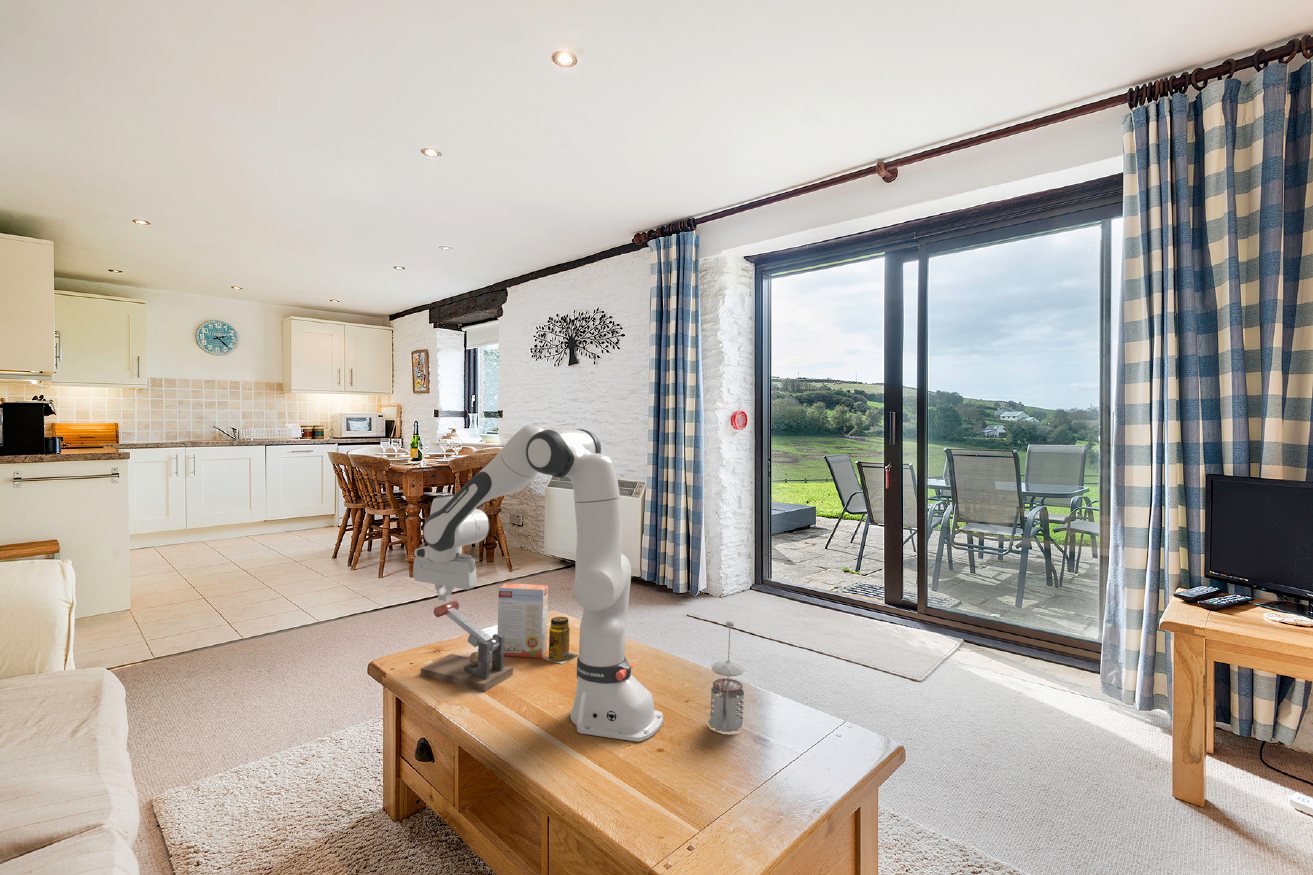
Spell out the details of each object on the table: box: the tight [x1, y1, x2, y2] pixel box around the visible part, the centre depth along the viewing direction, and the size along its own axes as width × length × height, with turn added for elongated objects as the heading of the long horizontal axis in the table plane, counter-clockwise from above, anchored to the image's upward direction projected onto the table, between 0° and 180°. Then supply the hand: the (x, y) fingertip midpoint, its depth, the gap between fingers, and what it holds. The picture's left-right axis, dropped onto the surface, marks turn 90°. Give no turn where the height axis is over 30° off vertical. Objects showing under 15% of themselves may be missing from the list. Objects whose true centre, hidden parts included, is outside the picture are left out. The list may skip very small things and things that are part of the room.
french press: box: [707, 620, 746, 732], centre depth 141 cm, size 10×12×25 cm
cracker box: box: [497, 582, 549, 659], centre depth 182 cm, size 14×6×21 cm, turn 84°
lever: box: [433, 600, 501, 653], centre depth 165 cm, size 20×7×4 cm, turn 67°
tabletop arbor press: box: [420, 633, 514, 692], centre depth 165 cm, size 22×12×12 cm, turn 67°
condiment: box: [543, 616, 579, 665], centre depth 180 cm, size 7×8×12 cm
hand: (444, 600), depth 168 cm, fingers closed
